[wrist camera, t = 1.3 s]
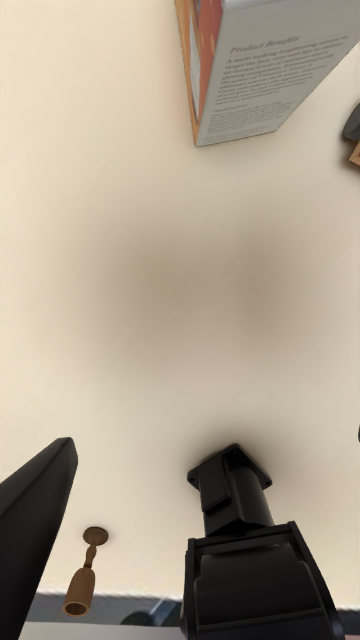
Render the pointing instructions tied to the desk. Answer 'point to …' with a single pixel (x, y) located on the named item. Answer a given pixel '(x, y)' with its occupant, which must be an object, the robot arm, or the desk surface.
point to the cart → (354, 133)
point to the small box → (258, 59)
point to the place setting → (84, 577)
